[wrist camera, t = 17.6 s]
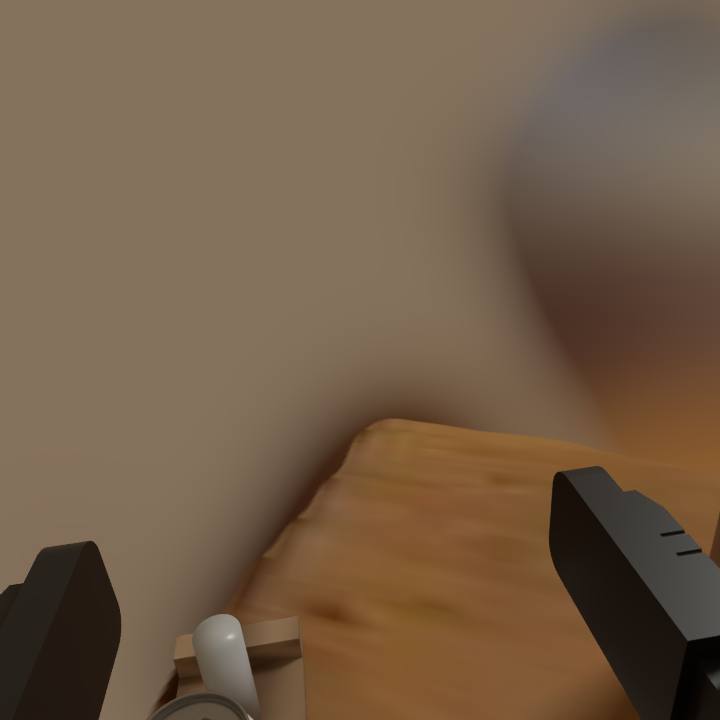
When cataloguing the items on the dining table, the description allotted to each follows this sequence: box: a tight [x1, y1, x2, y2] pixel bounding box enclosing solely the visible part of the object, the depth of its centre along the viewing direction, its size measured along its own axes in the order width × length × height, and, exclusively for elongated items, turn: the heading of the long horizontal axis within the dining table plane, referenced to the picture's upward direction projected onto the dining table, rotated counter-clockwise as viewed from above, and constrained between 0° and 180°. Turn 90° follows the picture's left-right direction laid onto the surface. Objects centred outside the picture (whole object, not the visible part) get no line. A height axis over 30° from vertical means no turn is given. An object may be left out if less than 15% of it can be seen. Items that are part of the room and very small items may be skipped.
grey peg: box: [192, 614, 261, 720], centre depth 38 cm, size 3×3×8 cm
